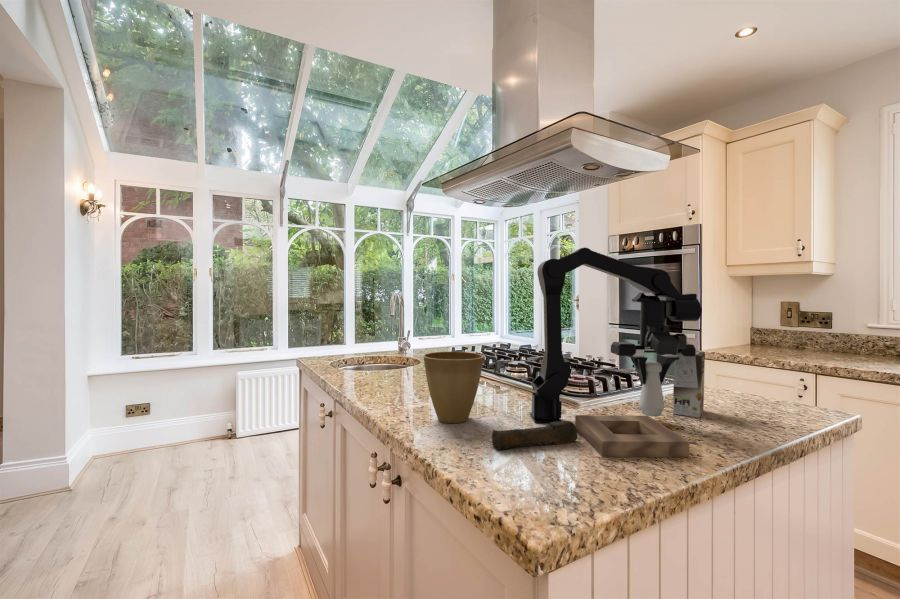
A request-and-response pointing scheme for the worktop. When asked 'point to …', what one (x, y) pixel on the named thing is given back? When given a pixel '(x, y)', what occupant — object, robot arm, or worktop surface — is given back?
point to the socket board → (630, 436)
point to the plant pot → (453, 383)
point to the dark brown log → (535, 435)
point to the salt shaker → (652, 391)
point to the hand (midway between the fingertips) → (651, 383)
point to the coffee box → (689, 385)
